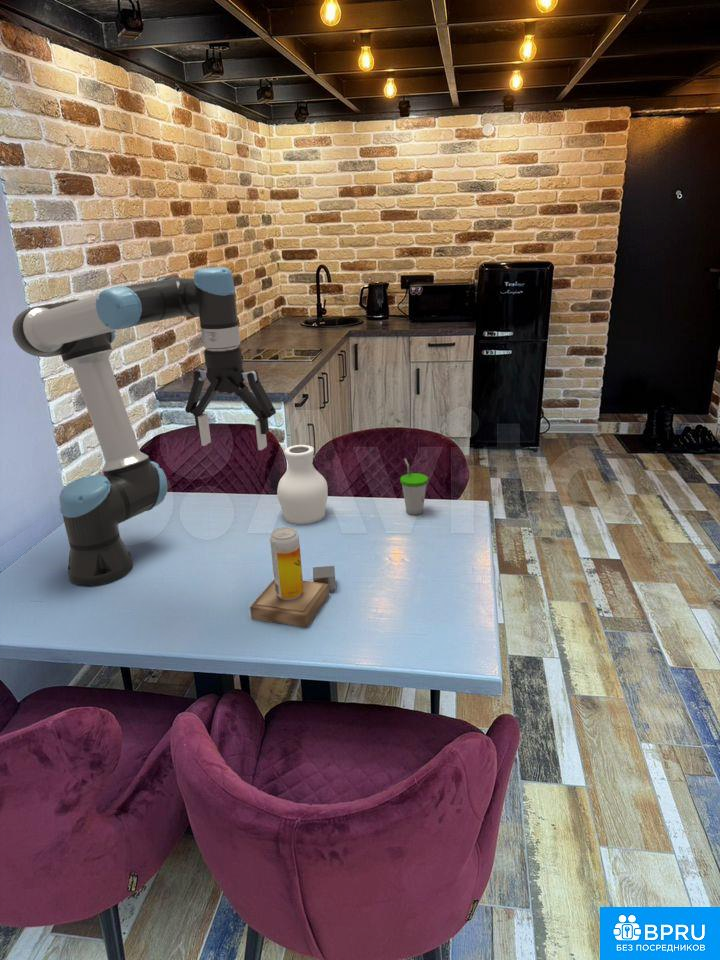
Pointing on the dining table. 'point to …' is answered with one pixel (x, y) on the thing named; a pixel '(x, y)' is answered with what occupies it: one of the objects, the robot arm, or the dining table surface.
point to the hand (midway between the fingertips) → (234, 446)
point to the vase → (302, 487)
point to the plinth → (290, 605)
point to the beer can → (286, 563)
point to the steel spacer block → (325, 576)
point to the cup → (414, 491)
